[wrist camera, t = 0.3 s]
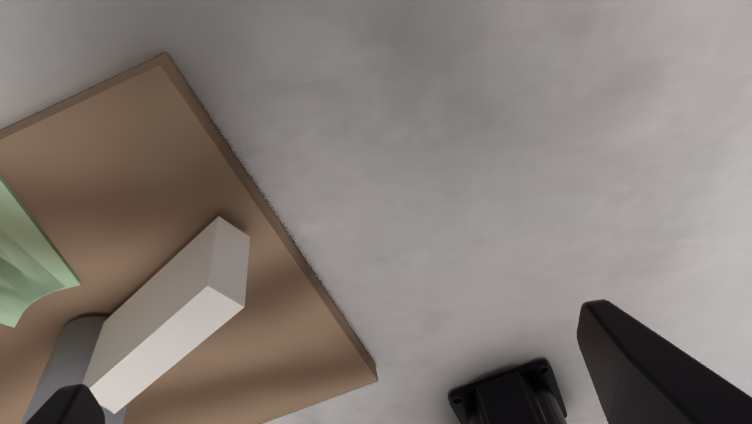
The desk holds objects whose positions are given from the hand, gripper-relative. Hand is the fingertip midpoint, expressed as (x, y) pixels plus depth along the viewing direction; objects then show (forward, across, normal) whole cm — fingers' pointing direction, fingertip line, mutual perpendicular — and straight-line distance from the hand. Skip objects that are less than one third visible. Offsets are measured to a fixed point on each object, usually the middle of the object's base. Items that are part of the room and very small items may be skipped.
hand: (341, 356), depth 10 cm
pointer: (+12, +9, +8) cm, 17 cm away
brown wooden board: (+14, +12, +11) cm, 21 cm away
